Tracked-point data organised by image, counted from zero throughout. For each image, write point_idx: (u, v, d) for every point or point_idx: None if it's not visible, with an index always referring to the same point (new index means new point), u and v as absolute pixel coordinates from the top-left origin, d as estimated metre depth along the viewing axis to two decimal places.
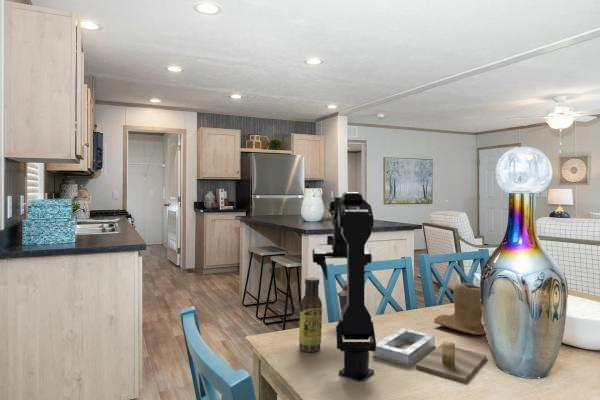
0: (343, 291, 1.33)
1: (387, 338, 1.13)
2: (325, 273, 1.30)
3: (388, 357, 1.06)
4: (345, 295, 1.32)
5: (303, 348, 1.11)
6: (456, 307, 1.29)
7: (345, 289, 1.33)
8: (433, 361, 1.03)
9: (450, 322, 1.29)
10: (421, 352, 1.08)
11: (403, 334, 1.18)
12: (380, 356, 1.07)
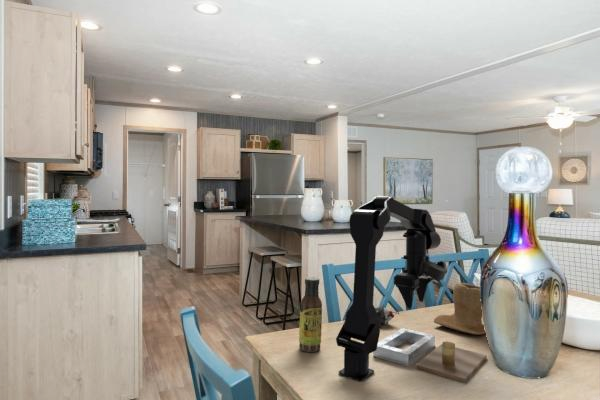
0: (388, 311, 1.33)
1: (387, 338, 1.13)
2: None
3: (388, 357, 1.06)
4: (385, 313, 1.33)
5: (303, 348, 1.11)
6: (456, 307, 1.29)
7: (390, 313, 1.33)
8: (433, 361, 1.03)
9: (450, 322, 1.29)
10: (421, 352, 1.08)
11: (403, 334, 1.18)
12: (380, 356, 1.07)
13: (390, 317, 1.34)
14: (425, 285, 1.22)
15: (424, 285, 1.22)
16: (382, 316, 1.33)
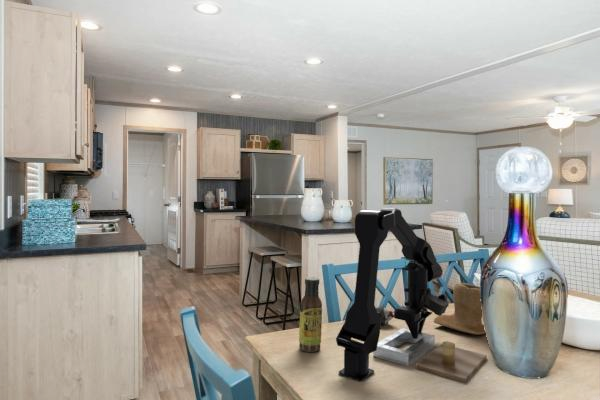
0: (388, 311, 1.33)
1: (387, 338, 1.13)
2: None
3: (388, 357, 1.06)
4: (385, 313, 1.33)
5: (303, 348, 1.11)
6: (456, 307, 1.29)
7: (390, 313, 1.33)
8: (433, 361, 1.03)
9: (450, 322, 1.29)
10: (421, 352, 1.08)
11: (403, 334, 1.18)
12: (380, 356, 1.07)
13: (390, 317, 1.34)
14: (422, 320, 1.19)
15: (422, 320, 1.19)
16: (382, 316, 1.33)
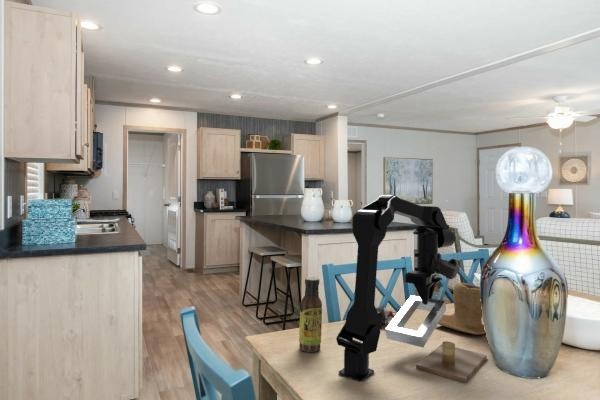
0: (388, 311, 1.33)
1: (398, 315, 1.12)
2: None
3: (402, 339, 1.05)
4: (385, 313, 1.33)
5: (303, 348, 1.11)
6: (456, 307, 1.29)
7: (390, 313, 1.33)
8: (433, 361, 1.03)
9: (450, 322, 1.29)
10: (433, 326, 1.07)
11: (413, 304, 1.16)
12: (394, 339, 1.06)
13: (390, 317, 1.34)
14: (432, 285, 1.17)
15: (432, 285, 1.17)
16: (382, 316, 1.33)
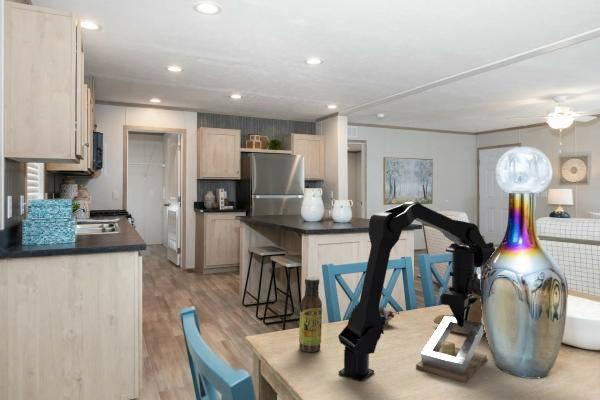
0: (388, 311, 1.33)
1: (433, 338, 1.05)
2: None
3: (439, 365, 0.98)
4: (385, 313, 1.33)
5: (303, 348, 1.11)
6: None
7: (390, 313, 1.33)
8: None
9: None
10: (472, 351, 1.01)
11: (448, 326, 1.10)
12: (430, 364, 1.00)
13: (390, 317, 1.34)
14: (468, 306, 1.11)
15: (468, 306, 1.11)
16: None
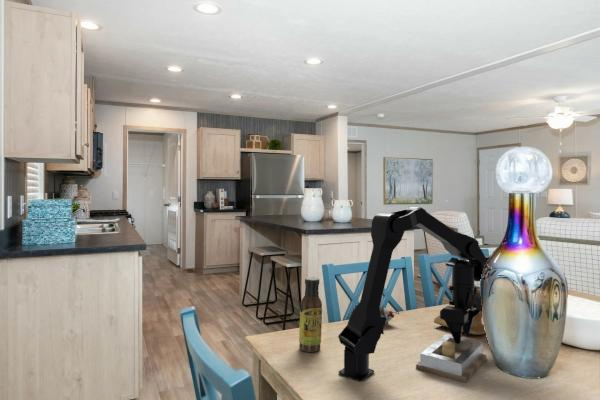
0: (388, 311, 1.33)
1: (433, 345, 1.05)
2: None
3: (438, 367, 0.98)
4: (385, 313, 1.33)
5: (303, 348, 1.11)
6: None
7: (390, 313, 1.33)
8: None
9: None
10: (471, 361, 1.00)
11: (448, 341, 1.10)
12: (429, 365, 0.99)
13: (390, 317, 1.34)
14: (471, 318, 1.13)
15: (470, 318, 1.13)
16: None
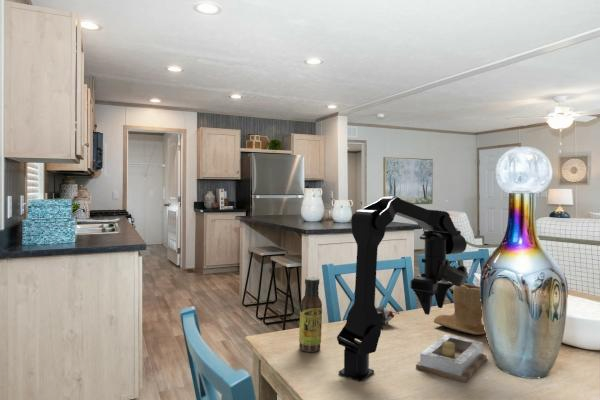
0: (388, 311, 1.33)
1: (433, 345, 1.05)
2: None
3: (438, 367, 0.98)
4: (385, 313, 1.33)
5: (303, 348, 1.11)
6: (456, 307, 1.29)
7: (390, 313, 1.33)
8: None
9: (450, 322, 1.29)
10: (471, 361, 1.00)
11: (448, 341, 1.10)
12: (429, 365, 0.99)
13: (390, 317, 1.34)
14: (444, 291, 1.16)
15: (444, 291, 1.16)
16: None
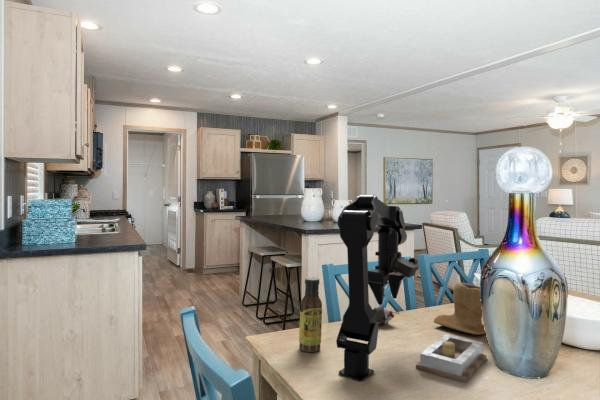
0: (388, 311, 1.33)
1: (433, 345, 1.05)
2: None
3: (438, 367, 0.98)
4: (385, 313, 1.33)
5: (303, 348, 1.11)
6: (456, 307, 1.29)
7: (390, 313, 1.33)
8: None
9: (450, 322, 1.29)
10: (471, 361, 1.00)
11: (448, 341, 1.10)
12: (429, 365, 0.99)
13: (390, 317, 1.34)
14: (398, 282, 1.22)
15: (398, 282, 1.22)
16: (382, 316, 1.33)
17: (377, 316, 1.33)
